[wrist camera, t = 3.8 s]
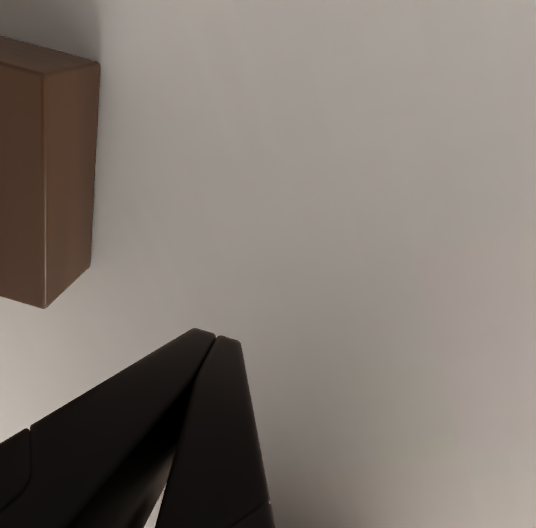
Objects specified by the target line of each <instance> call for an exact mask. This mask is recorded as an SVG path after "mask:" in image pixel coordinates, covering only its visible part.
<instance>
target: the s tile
mask: <svg viewBox="0 0 536 528" xmlns="http://www.w3.org/2000/svg"><path fill="white" fill-rule="evenodd" d="M99 77H100V63H98V62H97V61H94V60H90V59H86V58H83V57H79V56H75V55H71V54H68V53H64V52H60V51H56V50H53V49H49V48H45V47H41V46H37V45H34V44H30V43H26V42H22V41H19V40H15V39H11V38H7V37H4V36H0V296H1V297H5V298H8V299H11V300H15V301H18V302H22V303H25V304H28V305H32V306H35V307H39V308H42V309H45V308H47V307H48V306H49V305H50V304H51V303H52V302H53V301H54V300H55V299H56V298H57V297H58V296H59V295H60V294H61V293H62V292H64V291H65V290H66V289H67V288H68V287H69V286H70V285H71V284H72V283H73V282H74V281H75V280H76V279H77V278H78V277H79V276H80V275H82V274H83V273H84V272H85V271H86V270H87V269H88V268H89V267H90V256H91V236H92V216H93V197H94V177H95V157H96V137H97V117H98V97H99Z"/></svg>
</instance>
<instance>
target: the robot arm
mask: <svg viewBox="0 0 536 528" xmlns="http://www.w3.org/2000/svg"><path fill="white" fill-rule="evenodd" d="M166 482H167V484H166ZM165 484H166V487H165V491H164V495H163V499H162V503H161V507H160V510H159V514H158V518H157V522H156V526H155V528H275V523H274V518H273V513H272V507H271V504H270V503H269V501H270V498H269V493H268V487H267V482H266V476H265V471H264V466H263V460H262V455H261V449H260V444H259V439H258V433H257V428H256V422H255V417H254V412H253V406H252V401H251V395H250V390H249V385H248V379H247V374H246V368H245V363H244V358H243V352H242V347H241V343H240V342H239V341H238V340H235V339H231V338H228V337H225V336H217V337H216V336H215V334H214V333H211V332H207V331H204V330H201V329H197V328H193V329H191V330H189V331H187V332H186V333H184V334H182V335H181V336H179V337H177V338H176V339H174V340H172V341H171V342H169V343H167V344H166V345H164V346H162V347H161V348H159V349H157V350H156V351H154V352H152V353H151V354H149V355H147V356H146V357H144V358H142V359H141V360H139V361H137V362H136V363H134V364H132V365H131V366H129V367H127V368H126V369H124V370H122V371H121V372H119V373H117V374H116V375H114V376H112V377H111V378H109V379H107V380H106V381H104V382H102V383H101V384H99V385H97V386H96V387H94V388H92V389H91V390H89V391H87V392H86V393H84V394H82V395H81V396H79V397H77V398H76V399H74V400H72V401H71V402H69V403H67V404H66V405H64V406H62V407H61V408H59V409H57V410H56V411H54V412H52V413H51V414H49V415H47V416H46V417H44V418H42V419H41V420H39V421H37V422H36V423H34V424H32V425H31V426H30V430H29V429H27V428H26V429H24V430H22V431H20V432H19V433H17V434H15V435H14V436H12V437H10V438H9V439H7V440H5V441H4V442H2V443H0V528H144V526H145V524H146V522H147V520H148V518H149V516H150V514H151V512H152V510H153V508H154V506H155V504H156V502H157V500H158V498H159V496H160V494H161V492H162V490H163V488H164V486H165Z"/></svg>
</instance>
